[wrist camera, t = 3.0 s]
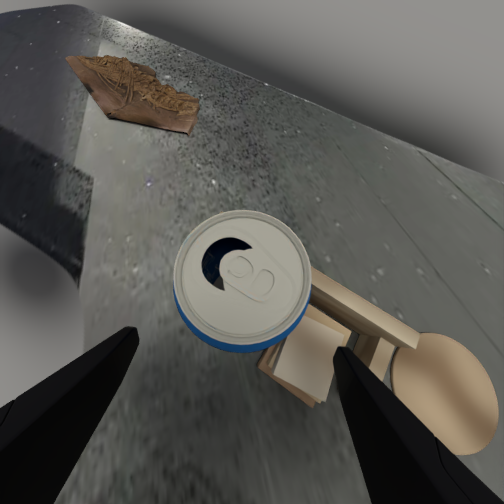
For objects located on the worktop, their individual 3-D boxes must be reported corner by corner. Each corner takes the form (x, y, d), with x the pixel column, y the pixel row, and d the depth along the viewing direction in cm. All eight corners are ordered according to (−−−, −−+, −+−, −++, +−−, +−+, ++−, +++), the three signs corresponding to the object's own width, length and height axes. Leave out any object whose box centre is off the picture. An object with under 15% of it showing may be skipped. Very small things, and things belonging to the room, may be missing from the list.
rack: (349, 397, 17) (391, 426, 12) (188, 283, 19) (171, 271, 15) (376, 330, 19) (420, 334, 14) (226, 235, 21) (221, 211, 17)
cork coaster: (481, 479, 15) (488, 483, 15) (376, 405, 17) (379, 407, 16) (500, 370, 18) (505, 371, 18) (408, 314, 19) (411, 314, 19)
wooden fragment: (218, 114, 28) (217, 107, 27) (161, 159, 25) (158, 153, 24) (105, 43, 33) (100, 34, 32) (44, 73, 30) (38, 64, 29)
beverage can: (234, 256, 21) (222, 179, 9) (287, 289, 20) (346, 246, 8) (196, 310, 19) (125, 295, 7) (254, 349, 18) (273, 399, 6)
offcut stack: (307, 402, 17) (324, 423, 13) (256, 364, 17) (260, 375, 14) (341, 328, 19) (363, 330, 15) (294, 298, 19) (305, 293, 16)
